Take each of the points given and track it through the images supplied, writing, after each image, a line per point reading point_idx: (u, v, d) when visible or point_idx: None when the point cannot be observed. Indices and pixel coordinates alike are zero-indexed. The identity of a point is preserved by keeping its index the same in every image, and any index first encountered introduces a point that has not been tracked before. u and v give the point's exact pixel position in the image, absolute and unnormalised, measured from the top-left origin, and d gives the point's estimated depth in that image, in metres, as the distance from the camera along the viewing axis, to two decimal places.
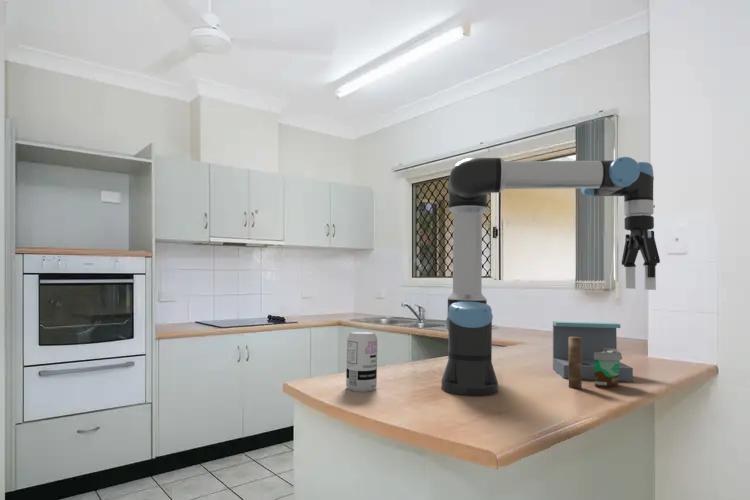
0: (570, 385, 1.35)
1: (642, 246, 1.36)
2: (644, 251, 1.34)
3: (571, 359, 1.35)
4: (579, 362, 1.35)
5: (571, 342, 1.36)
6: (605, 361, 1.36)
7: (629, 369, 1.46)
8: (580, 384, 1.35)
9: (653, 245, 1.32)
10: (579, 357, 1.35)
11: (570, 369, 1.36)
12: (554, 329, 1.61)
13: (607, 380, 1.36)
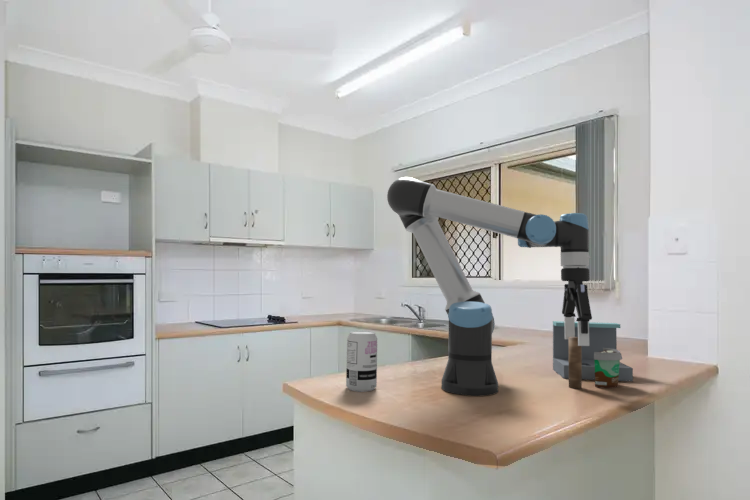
0: (570, 385, 1.35)
1: (576, 300, 1.33)
2: (578, 305, 1.32)
3: (571, 359, 1.35)
4: (579, 362, 1.35)
5: (571, 342, 1.36)
6: (605, 361, 1.36)
7: (629, 369, 1.46)
8: (580, 384, 1.35)
9: (586, 300, 1.29)
10: (579, 357, 1.35)
11: (570, 369, 1.36)
12: (554, 329, 1.61)
13: (607, 380, 1.36)
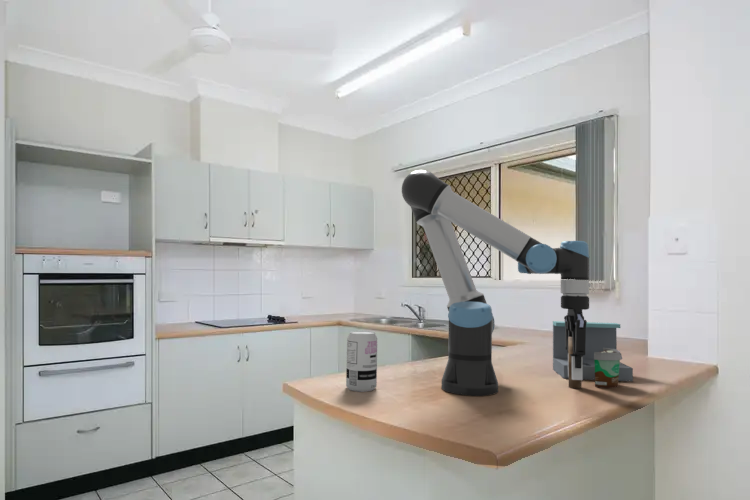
0: (570, 385, 1.35)
1: (574, 332, 1.34)
2: (574, 339, 1.34)
3: (571, 359, 1.35)
4: None
5: (571, 342, 1.36)
6: (605, 361, 1.36)
7: (629, 369, 1.46)
8: (580, 384, 1.35)
9: (582, 337, 1.31)
10: None
11: (570, 369, 1.36)
12: (554, 329, 1.61)
13: (607, 380, 1.36)
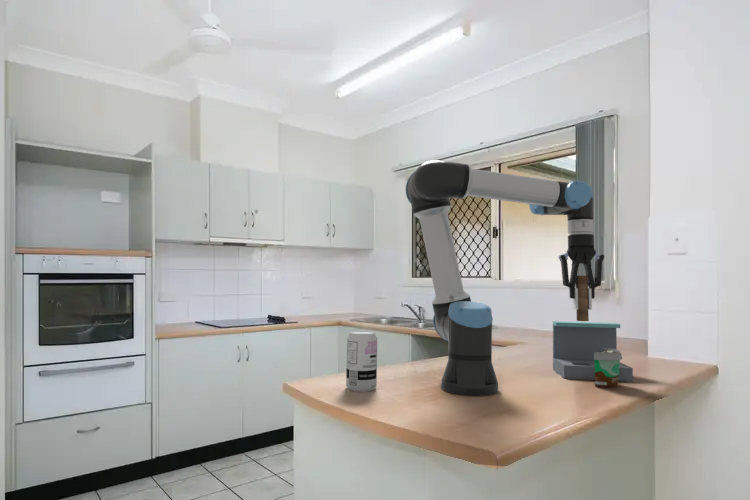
0: None
1: (572, 267, 1.51)
2: (571, 273, 1.51)
3: None
4: (578, 297, 1.49)
5: None
6: (605, 361, 1.36)
7: (629, 369, 1.46)
8: (579, 317, 1.48)
9: (563, 269, 1.50)
10: None
11: None
12: (554, 329, 1.61)
13: (607, 380, 1.36)
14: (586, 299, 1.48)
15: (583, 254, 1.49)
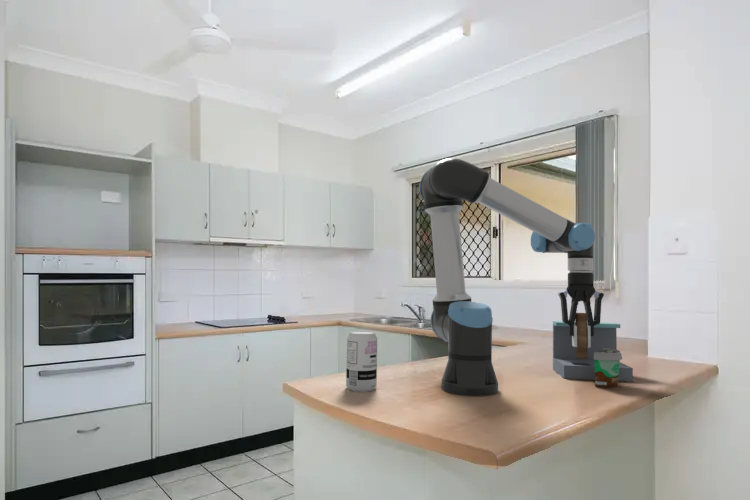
0: None
1: (571, 304, 1.53)
2: (570, 310, 1.53)
3: None
4: (577, 334, 1.50)
5: None
6: (605, 361, 1.36)
7: (629, 369, 1.46)
8: (578, 354, 1.50)
9: (562, 307, 1.52)
10: (577, 330, 1.51)
11: None
12: (554, 329, 1.61)
13: (607, 380, 1.36)
14: (585, 337, 1.50)
15: (582, 292, 1.51)
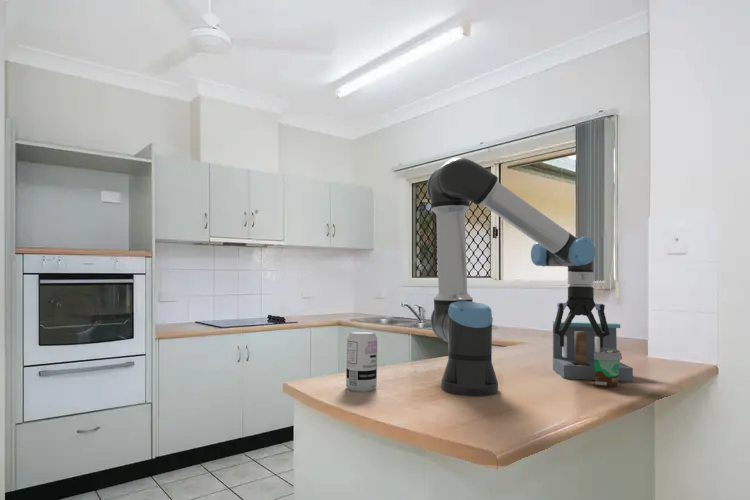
0: None
1: (567, 316, 1.53)
2: None
3: None
4: (576, 353, 1.50)
5: None
6: (605, 361, 1.36)
7: (629, 369, 1.46)
8: None
9: (557, 317, 1.52)
10: (576, 349, 1.50)
11: None
12: None
13: (607, 380, 1.36)
14: (584, 356, 1.49)
15: (583, 307, 1.50)
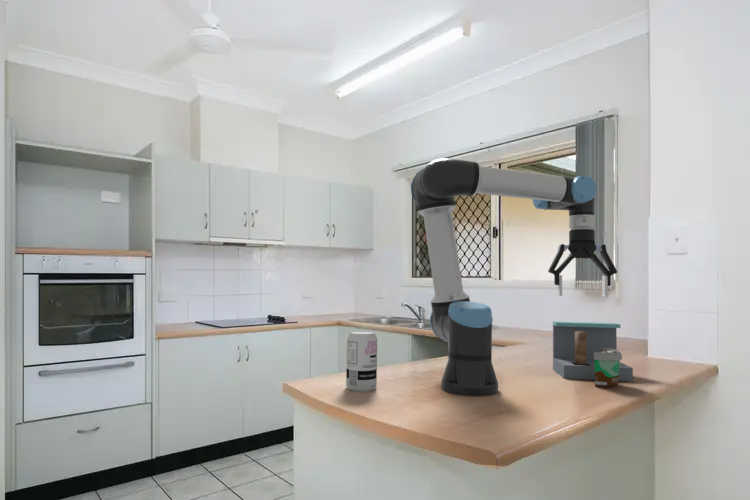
0: None
1: None
2: None
3: None
4: (576, 353, 1.50)
5: None
6: (605, 361, 1.36)
7: (629, 369, 1.46)
8: None
9: (556, 257, 1.53)
10: (576, 349, 1.50)
11: None
12: (554, 329, 1.61)
13: (607, 380, 1.36)
14: (584, 356, 1.49)
15: (584, 250, 1.52)
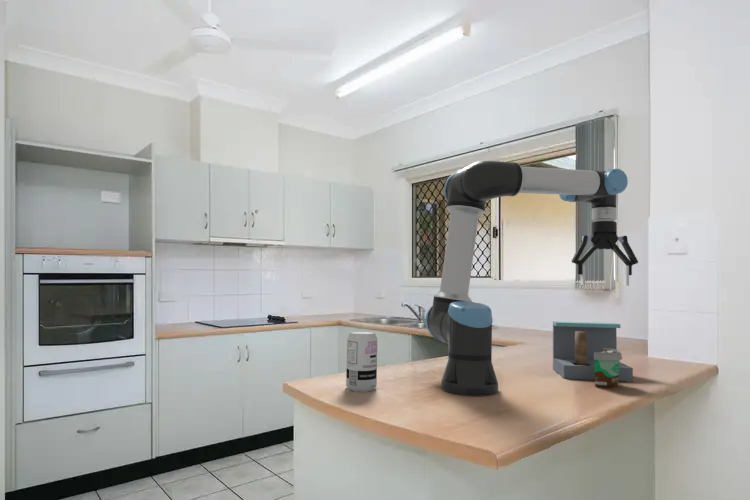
0: None
1: None
2: (585, 253, 1.61)
3: None
4: (576, 353, 1.50)
5: None
6: (605, 361, 1.36)
7: (629, 369, 1.46)
8: None
9: (579, 248, 1.60)
10: (576, 349, 1.50)
11: None
12: (554, 329, 1.61)
13: (607, 380, 1.36)
14: (584, 356, 1.49)
15: (606, 241, 1.59)
